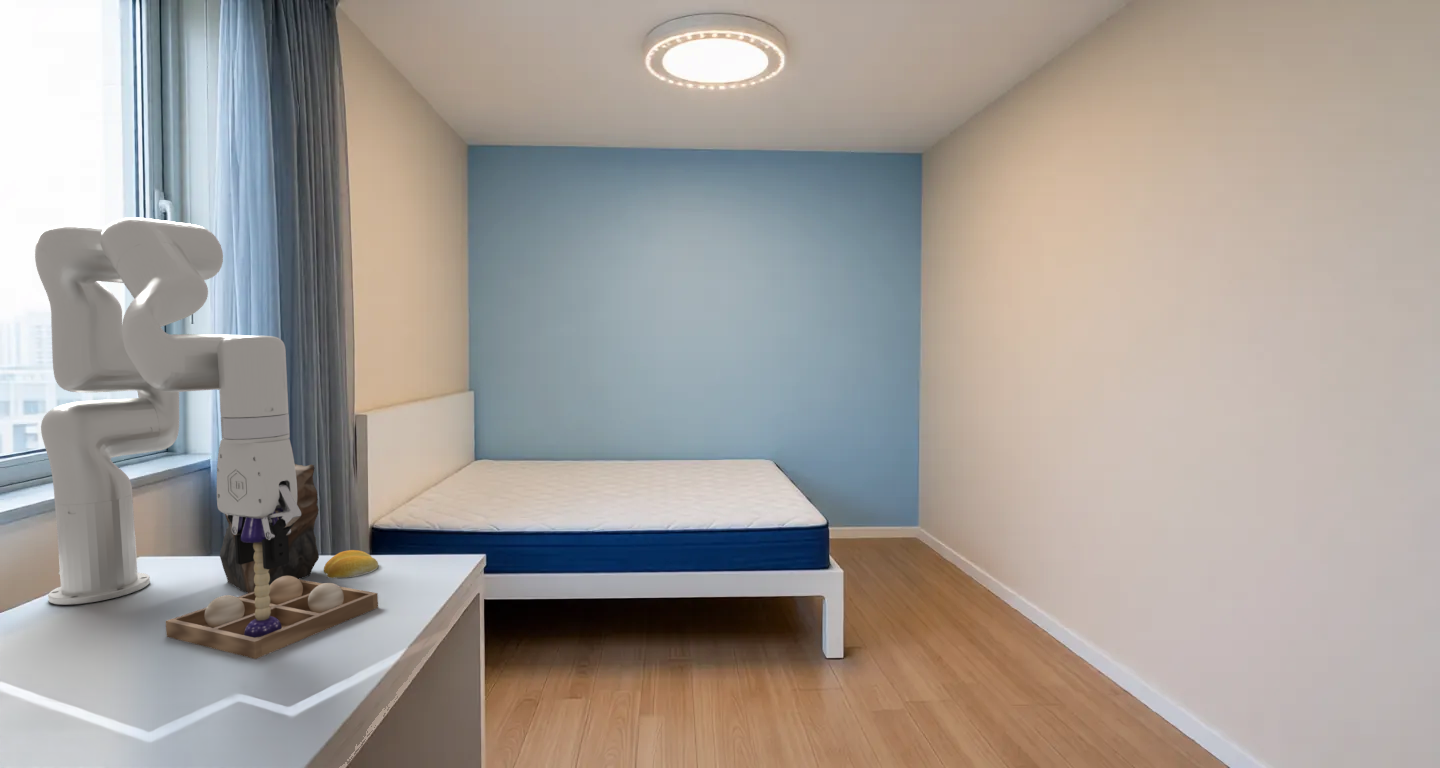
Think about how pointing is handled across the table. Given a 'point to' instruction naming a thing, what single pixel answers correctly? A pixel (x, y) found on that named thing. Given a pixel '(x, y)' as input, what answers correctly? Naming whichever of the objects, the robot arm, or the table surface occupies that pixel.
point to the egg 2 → (285, 589)
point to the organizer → (291, 615)
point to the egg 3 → (325, 597)
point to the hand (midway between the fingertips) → (262, 562)
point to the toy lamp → (259, 581)
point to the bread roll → (350, 564)
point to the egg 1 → (224, 610)
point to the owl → (299, 540)
